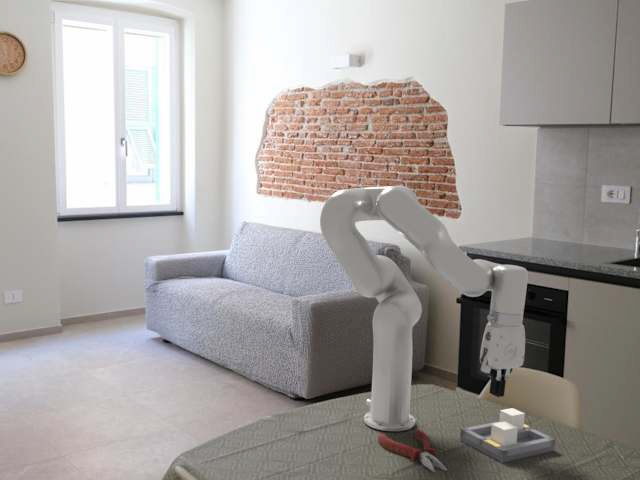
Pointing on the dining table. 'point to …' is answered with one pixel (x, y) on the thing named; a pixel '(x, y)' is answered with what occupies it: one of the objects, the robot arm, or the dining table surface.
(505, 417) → the tab
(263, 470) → the dining table surface
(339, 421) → the dining table surface
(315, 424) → the dining table surface
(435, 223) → the robot arm
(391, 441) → the pliers
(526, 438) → the switch bank
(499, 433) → the tab
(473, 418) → the dining table surface
